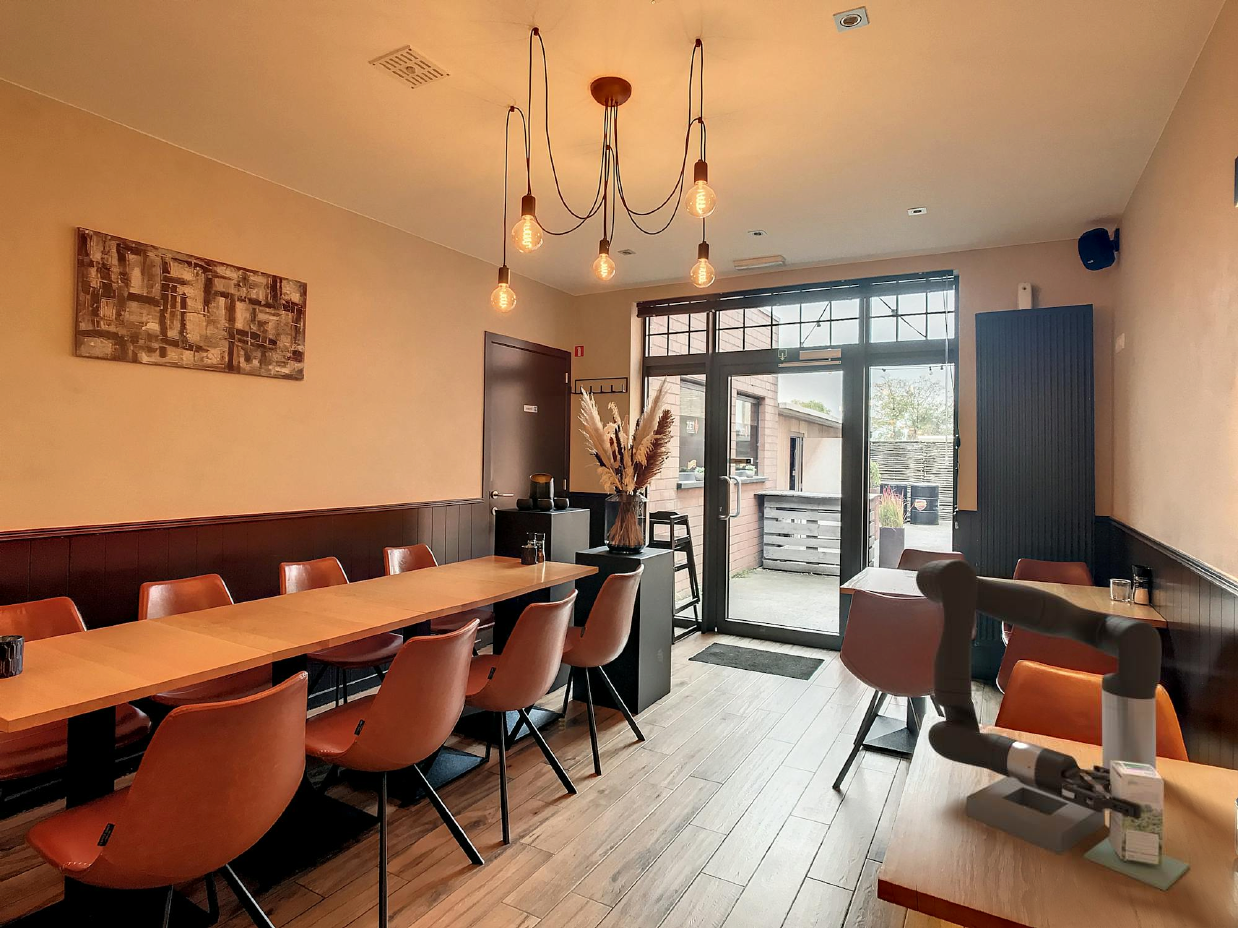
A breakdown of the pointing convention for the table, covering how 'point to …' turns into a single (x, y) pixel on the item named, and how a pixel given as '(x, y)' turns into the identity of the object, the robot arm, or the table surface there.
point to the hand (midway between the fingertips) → (1150, 805)
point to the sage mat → (1138, 866)
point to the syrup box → (1146, 833)
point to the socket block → (1033, 815)
